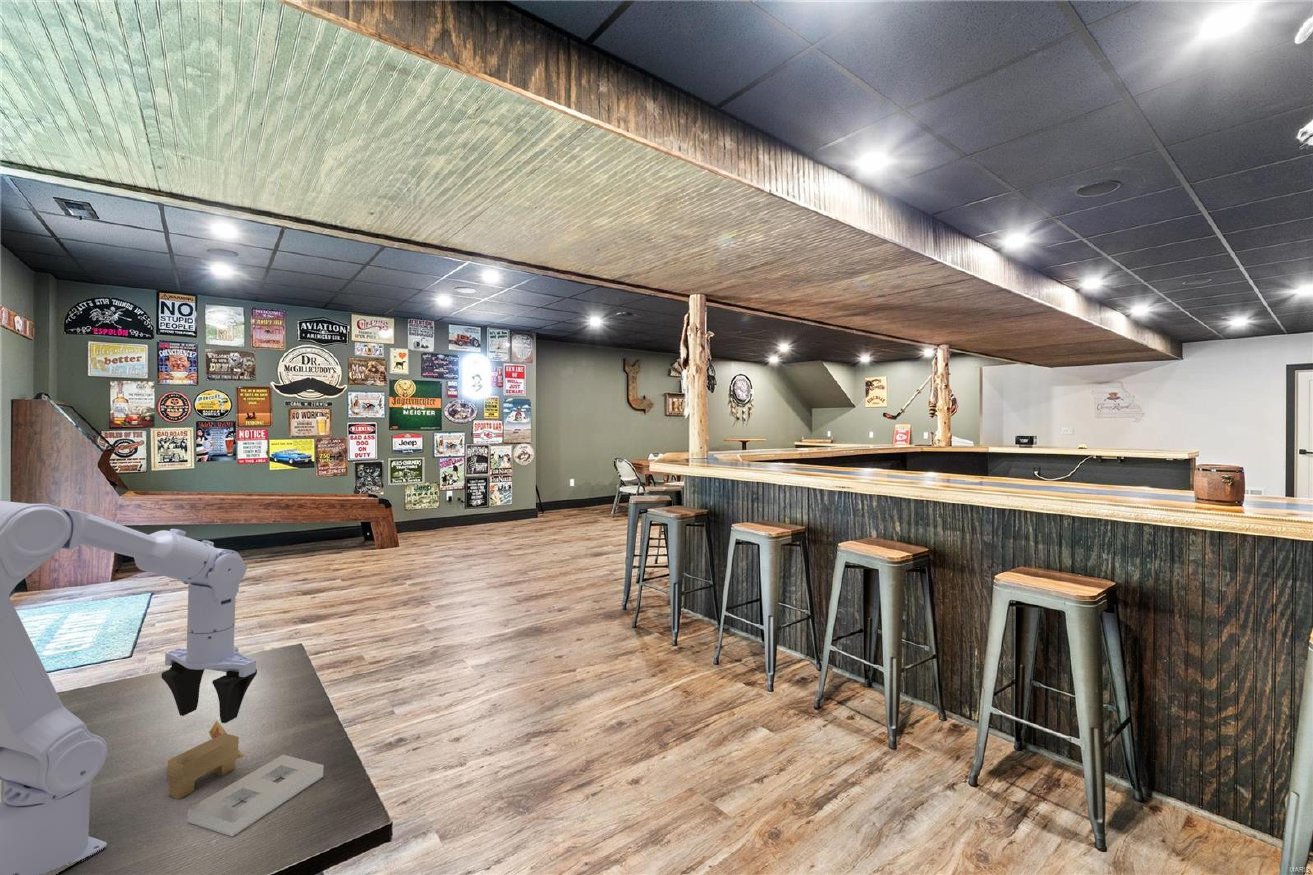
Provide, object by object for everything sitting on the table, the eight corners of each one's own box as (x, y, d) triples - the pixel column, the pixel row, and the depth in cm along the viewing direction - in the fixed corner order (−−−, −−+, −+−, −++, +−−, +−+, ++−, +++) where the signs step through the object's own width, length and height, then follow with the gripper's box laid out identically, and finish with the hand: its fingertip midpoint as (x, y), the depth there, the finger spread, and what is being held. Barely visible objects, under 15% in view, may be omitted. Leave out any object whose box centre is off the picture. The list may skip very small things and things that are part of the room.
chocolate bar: (224, 730, 101) (225, 717, 101) (245, 758, 93) (245, 744, 93) (206, 736, 99) (207, 723, 99) (225, 764, 91) (226, 750, 91)
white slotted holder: (232, 836, 75) (233, 822, 75) (187, 822, 77) (188, 808, 77) (322, 776, 88) (323, 765, 88) (282, 766, 90) (282, 754, 90)
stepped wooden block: (181, 799, 81) (183, 764, 81) (166, 795, 82) (168, 760, 82) (237, 769, 89) (238, 736, 89) (222, 765, 90) (224, 733, 90)
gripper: (274, 624, 90) (271, 710, 90) (198, 614, 93) (195, 697, 93) (232, 639, 83) (229, 733, 83) (151, 628, 86) (148, 719, 86)
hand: (208, 716), depth 87 cm, fingers open, 7 cm apart
